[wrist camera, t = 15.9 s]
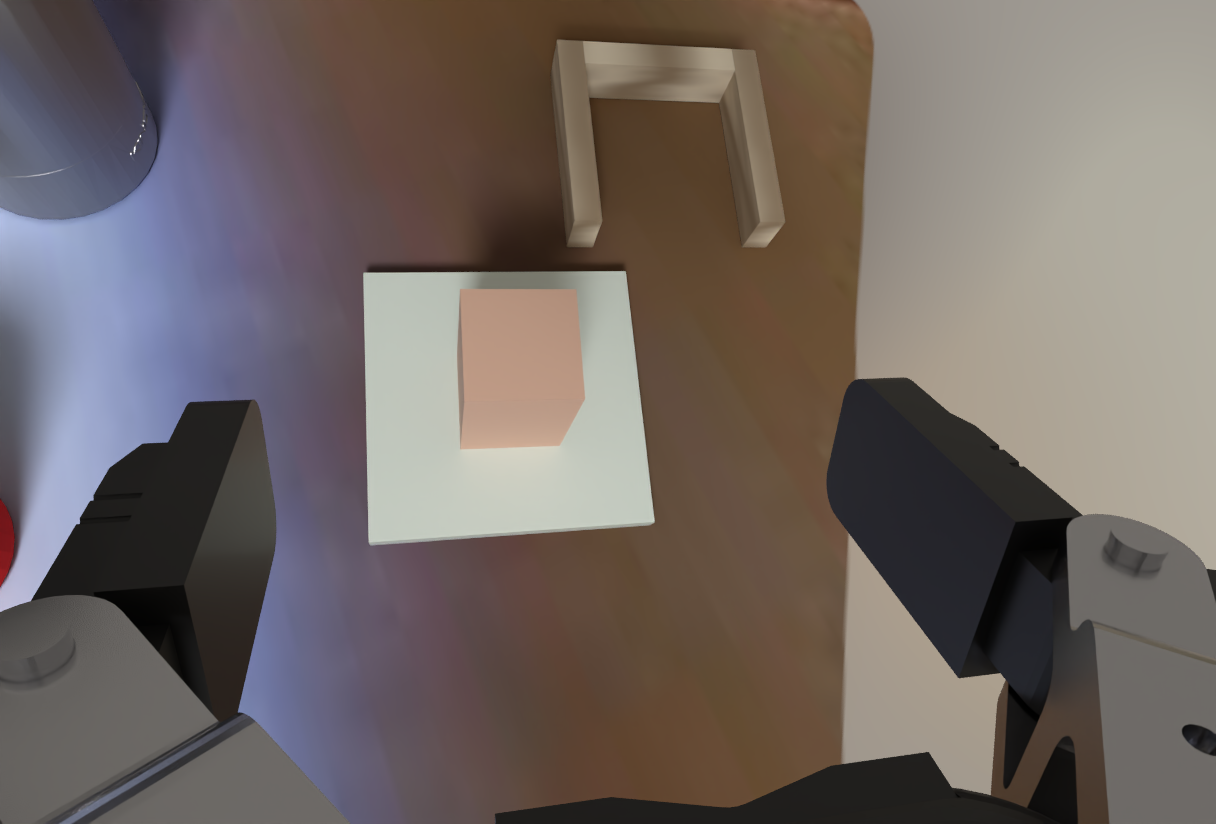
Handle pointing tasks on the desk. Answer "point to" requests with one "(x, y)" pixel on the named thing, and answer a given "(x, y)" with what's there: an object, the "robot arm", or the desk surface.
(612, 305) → the sage mat
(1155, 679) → the robot arm
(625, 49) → the maple bay
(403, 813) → the desk surface
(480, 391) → the terracotta block
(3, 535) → the soda can
